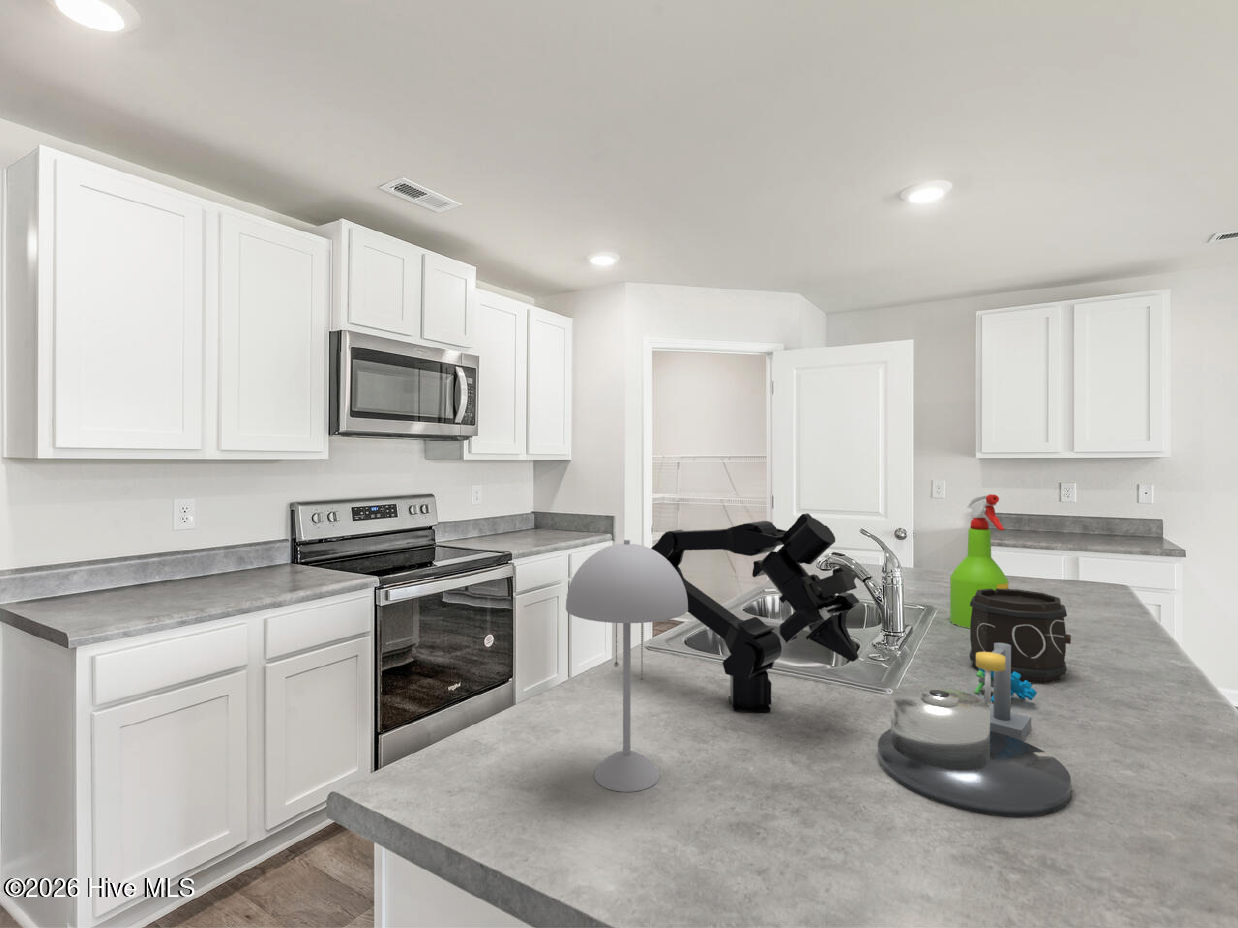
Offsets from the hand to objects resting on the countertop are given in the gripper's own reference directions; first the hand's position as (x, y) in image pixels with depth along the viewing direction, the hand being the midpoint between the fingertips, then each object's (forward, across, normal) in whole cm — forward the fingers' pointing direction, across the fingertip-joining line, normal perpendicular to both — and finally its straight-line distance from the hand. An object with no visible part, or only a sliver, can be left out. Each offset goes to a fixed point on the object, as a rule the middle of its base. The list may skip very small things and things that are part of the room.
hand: (855, 659), depth 105 cm
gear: (+18, +35, 0) cm, 39 cm away
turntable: (+20, 0, -3) cm, 21 cm away
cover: (+16, 0, -2) cm, 16 cm away
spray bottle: (+6, +90, +11) cm, 91 cm away
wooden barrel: (+17, +55, +1) cm, 58 cm away
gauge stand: (+20, +16, -3) cm, 26 cm away
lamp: (-4, -34, +22) cm, 41 cm away
